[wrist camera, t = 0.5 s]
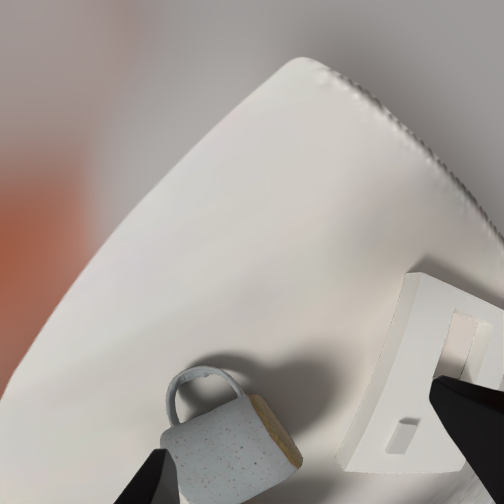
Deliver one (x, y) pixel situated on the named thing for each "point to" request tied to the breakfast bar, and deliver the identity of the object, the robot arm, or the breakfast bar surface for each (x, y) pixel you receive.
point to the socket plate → (420, 381)
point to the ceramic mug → (228, 446)
